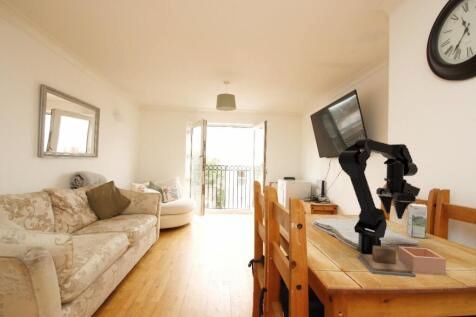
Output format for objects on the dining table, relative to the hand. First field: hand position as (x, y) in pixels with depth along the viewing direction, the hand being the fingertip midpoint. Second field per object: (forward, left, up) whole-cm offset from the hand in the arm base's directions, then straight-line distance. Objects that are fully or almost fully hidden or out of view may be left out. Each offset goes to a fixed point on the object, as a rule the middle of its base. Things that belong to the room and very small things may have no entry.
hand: (393, 216), depth 99 cm
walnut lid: (-12, -20, -11) cm, 26 cm away
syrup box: (+18, +17, -12) cm, 28 cm away
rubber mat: (-12, -20, -12) cm, 27 cm away
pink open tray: (0, -19, -12) cm, 23 cm away
